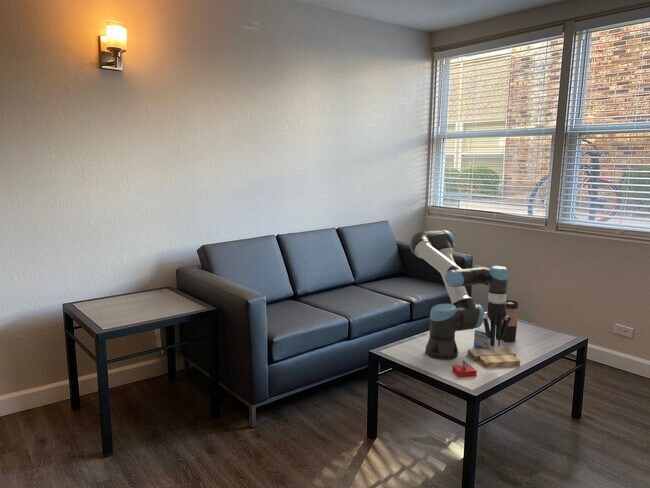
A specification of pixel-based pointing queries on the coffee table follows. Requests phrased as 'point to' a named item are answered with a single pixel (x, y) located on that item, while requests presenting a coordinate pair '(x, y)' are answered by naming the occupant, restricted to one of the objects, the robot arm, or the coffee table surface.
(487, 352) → the laid strip
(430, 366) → the coffee table surface
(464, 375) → the red rectangular block
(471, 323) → the robot arm
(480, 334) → the medicine box
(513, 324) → the travel mug
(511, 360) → the plank
